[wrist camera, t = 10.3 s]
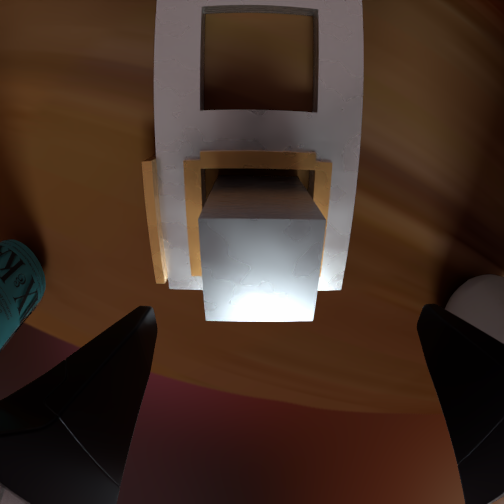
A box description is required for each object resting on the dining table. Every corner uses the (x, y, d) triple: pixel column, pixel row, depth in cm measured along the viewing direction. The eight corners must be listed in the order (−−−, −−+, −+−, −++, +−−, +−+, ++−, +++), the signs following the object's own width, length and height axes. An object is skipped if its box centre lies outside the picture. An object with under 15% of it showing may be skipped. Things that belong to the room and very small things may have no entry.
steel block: (297, 176, 19) (326, 219, 12) (292, 247, 21) (312, 320, 14) (218, 175, 19) (198, 218, 12) (220, 246, 21) (206, 320, 14)
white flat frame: (343, -94, 9) (351, -109, 7) (335, 279, 22) (344, 297, 20) (168, -97, 9) (160, -112, 7) (166, 277, 22) (158, 295, 20)
